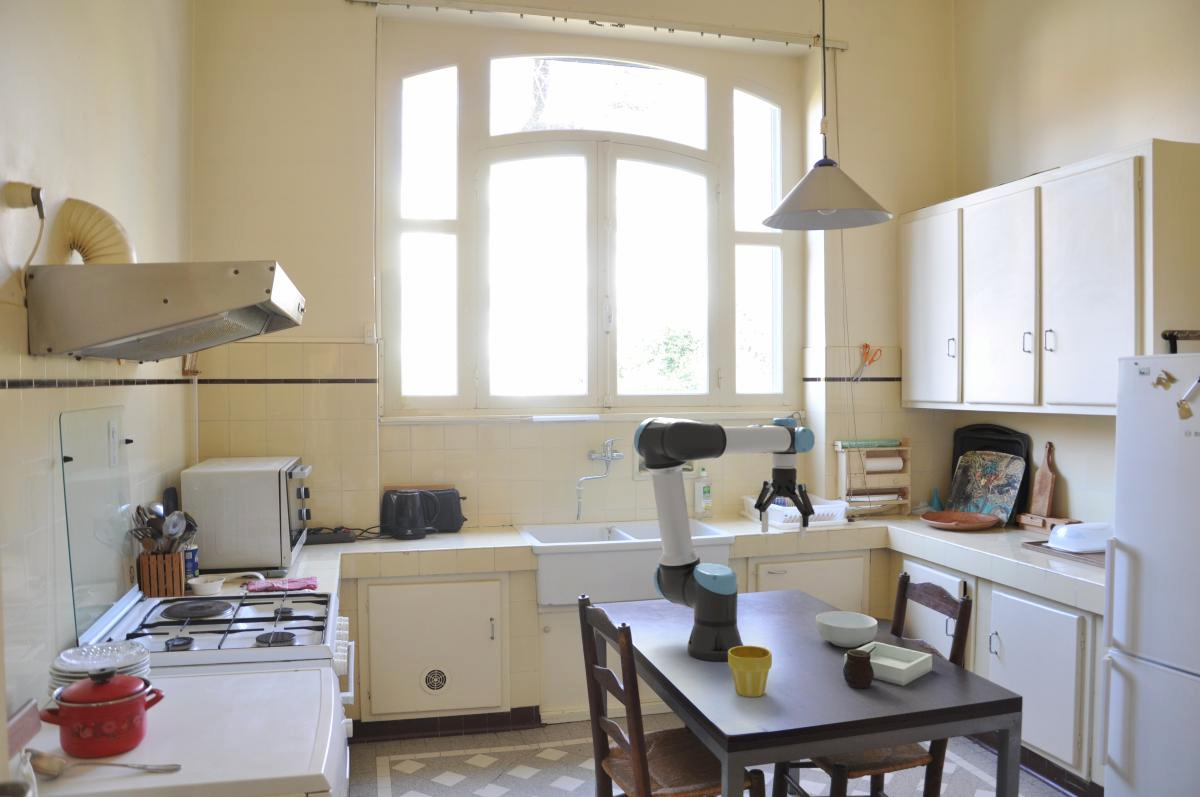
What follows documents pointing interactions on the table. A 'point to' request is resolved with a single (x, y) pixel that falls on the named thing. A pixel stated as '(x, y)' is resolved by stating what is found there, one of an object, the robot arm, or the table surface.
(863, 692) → the table surface
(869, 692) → the table surface
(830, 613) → the cereal bowl
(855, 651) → the mate gourd
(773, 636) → the table surface
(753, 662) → the plant pot
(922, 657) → the open box
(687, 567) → the robot arm
